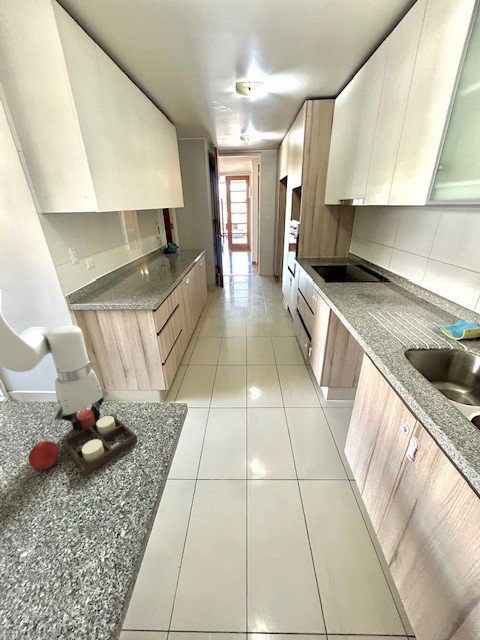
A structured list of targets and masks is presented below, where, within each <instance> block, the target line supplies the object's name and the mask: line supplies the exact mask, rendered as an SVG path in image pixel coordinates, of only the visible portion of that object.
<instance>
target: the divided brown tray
mask: <svg viewBox="0 0 480 640" xmlns="http://www.w3.org/2000/svg"><path fill="white" fill-rule="evenodd" d="M108 416H112V417H113V418H114V421H115V426H116V428H115V429H113V430H111V431H109V432H108V433H106V434H104V435H103V436H100V435H99V434H98V429H97V425H96V423H97V421H96V423H94V424H93V425H91V426H89V427H87V428H85V429H82V430H81V431H80V432H79V431H78V432H76V433H74V434H73V435H71V436H69V437H66V438H65V439H64V440H62V442H63V447H64V449H65V450H66V451H67V453H68V454H69V455H70V456H71V458H72V459H73V460H74V461H75V464H77V466H78V467H79V468H80V469H81V471H82V472H83V473H84V474H85V476H86V477H87V476H89V475H91V474H92V473H94V472H95V471H96V470H98V469H100V468H101V467H102V466H105V464H107V463H108V462H110V461H111V460H113V459H114V458H116V457H117V456H119V455H120V454H122V453H123V452H124V451H126V450H128V449H129V448H130V447H132V446H134V445H135V444H137V443H138V437H137V434H136V433H134V431H133V430H132V429H130V428H129V427H128V426H127V425H125V423H124V422H122V421H121V420H120V419H118V418H117V416H115V415H114V414H113V413H110V414H109V415H108ZM123 433H124V434H125V435H126V436H127V437H128V438H127V439H125V440H123V441H121V442H120V443H119V444H117V445H115V446H114V447H113V448H112V447H111V445H110V444H109V443H108V442H110V441H112V440H113V439H115V438H117V437H118V436H120V435H121V434H123ZM89 436H91V437H92V438H93V440H95V439H98V440H101V441H102V445H103V449H104V453H105V454H104V455H102V456H100V457H99V458H97V459H96V460H94V461H93V462H91V463H90V464H88V465H86V464H85V461H84V457H83V454H82V447H81V448H79V449H77V450H74V448H73V447H72V446H74V445H75V444H77V443H79V442H80V441H82V440H84V439H86V438H87V437H89Z"/></svg>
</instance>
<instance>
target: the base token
mask: <svg viewBox="0 0 480 640" xmlns="http://www.w3.org/2000/svg"><path fill="white" fill-rule="evenodd" d="M81 448H82V454H83V457H84V461H85V464H86V465H88V464H90V463H91V462H93V461H94V460H96V459H97V458H99V457H100V456H102V455H104V454H105V453H104V448H103V445H102V441H101V440H98V439H90V440H89V441H87V442H86V443H85V444H83V446H82V447H81Z"/></svg>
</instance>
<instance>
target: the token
mask: <svg viewBox="0 0 480 640" xmlns="http://www.w3.org/2000/svg"><path fill="white" fill-rule="evenodd" d="M96 422H97V423H96V425H97V429H98V431H97V433H98V434H99V435H100V436H103V435H104V434H106V433H108V432H109V431H111V430H113V429H115V428H116V427H117V426H116V425H115V421H114V418H113V417H112V416H109V415H105V416H102V417H100V418H99V420H98V421H96Z"/></svg>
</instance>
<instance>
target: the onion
mask: <svg viewBox="0 0 480 640" xmlns="http://www.w3.org/2000/svg"><path fill="white" fill-rule="evenodd" d="M59 456H60V448H59V446H58V444H55V442H52V441H43V440H40V441H38V443H37V444H36V445H34V447H33V448H32V449H31V450H30V453H29V454H28V463H29V464H28V465H29V466H30V467H31V468H32V469H35V470H46V469H48V468H50V467H52V466H53V465H54V464H55V463H56V462H57V461H58V458H59Z"/></svg>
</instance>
